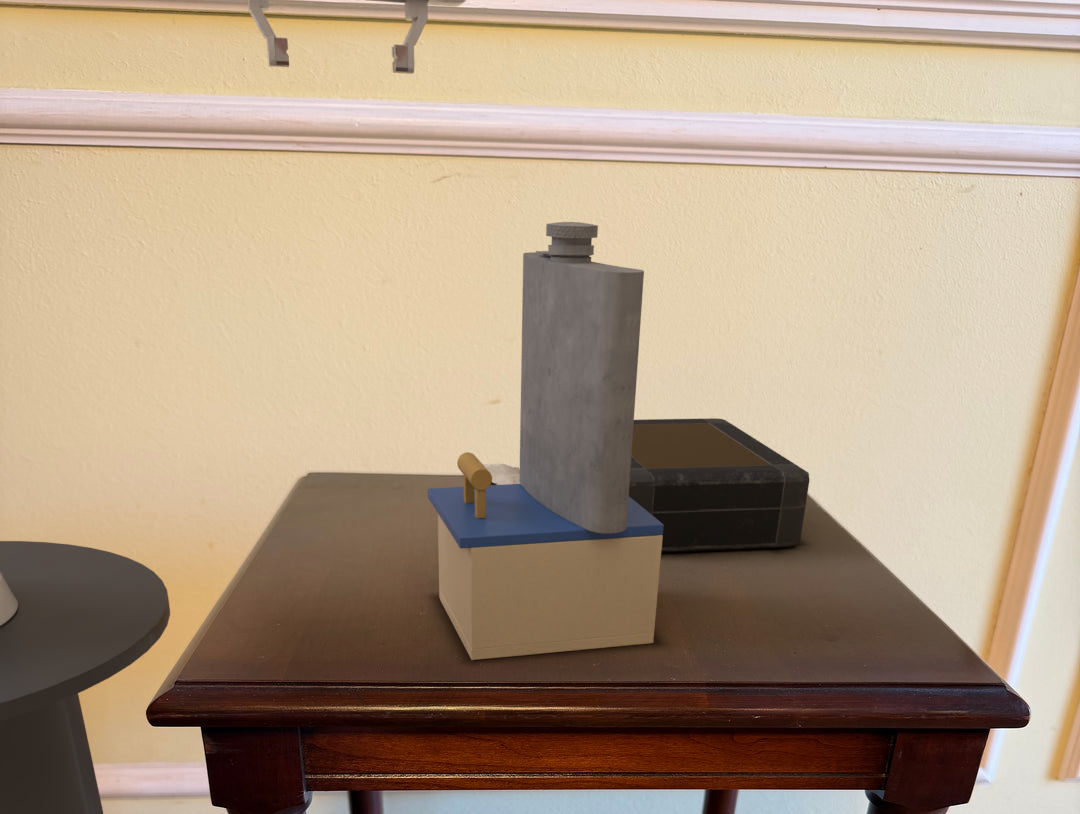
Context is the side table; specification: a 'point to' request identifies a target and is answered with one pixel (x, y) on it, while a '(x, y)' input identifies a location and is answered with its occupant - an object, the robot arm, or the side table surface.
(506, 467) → the arrowhead
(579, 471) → the hip flask
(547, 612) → the chest
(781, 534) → the cash box
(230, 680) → the side table surface
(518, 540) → the lid
